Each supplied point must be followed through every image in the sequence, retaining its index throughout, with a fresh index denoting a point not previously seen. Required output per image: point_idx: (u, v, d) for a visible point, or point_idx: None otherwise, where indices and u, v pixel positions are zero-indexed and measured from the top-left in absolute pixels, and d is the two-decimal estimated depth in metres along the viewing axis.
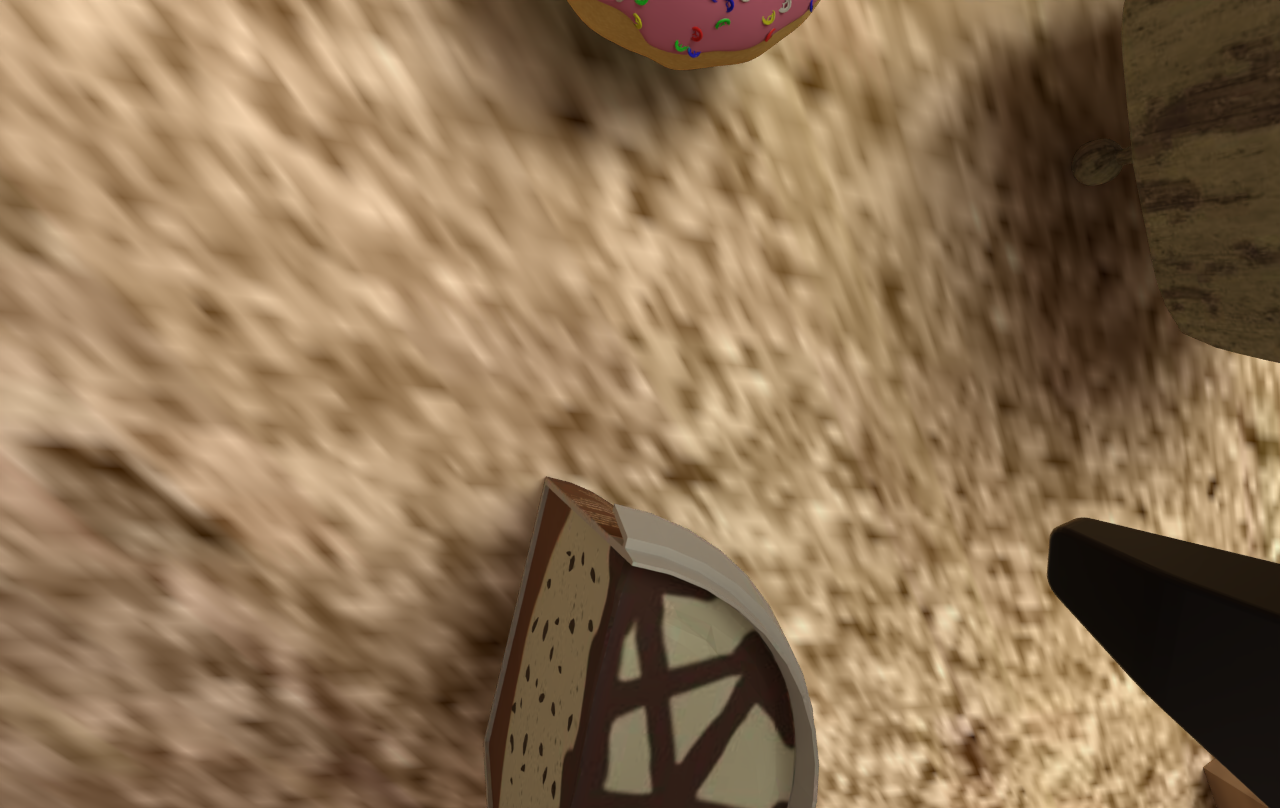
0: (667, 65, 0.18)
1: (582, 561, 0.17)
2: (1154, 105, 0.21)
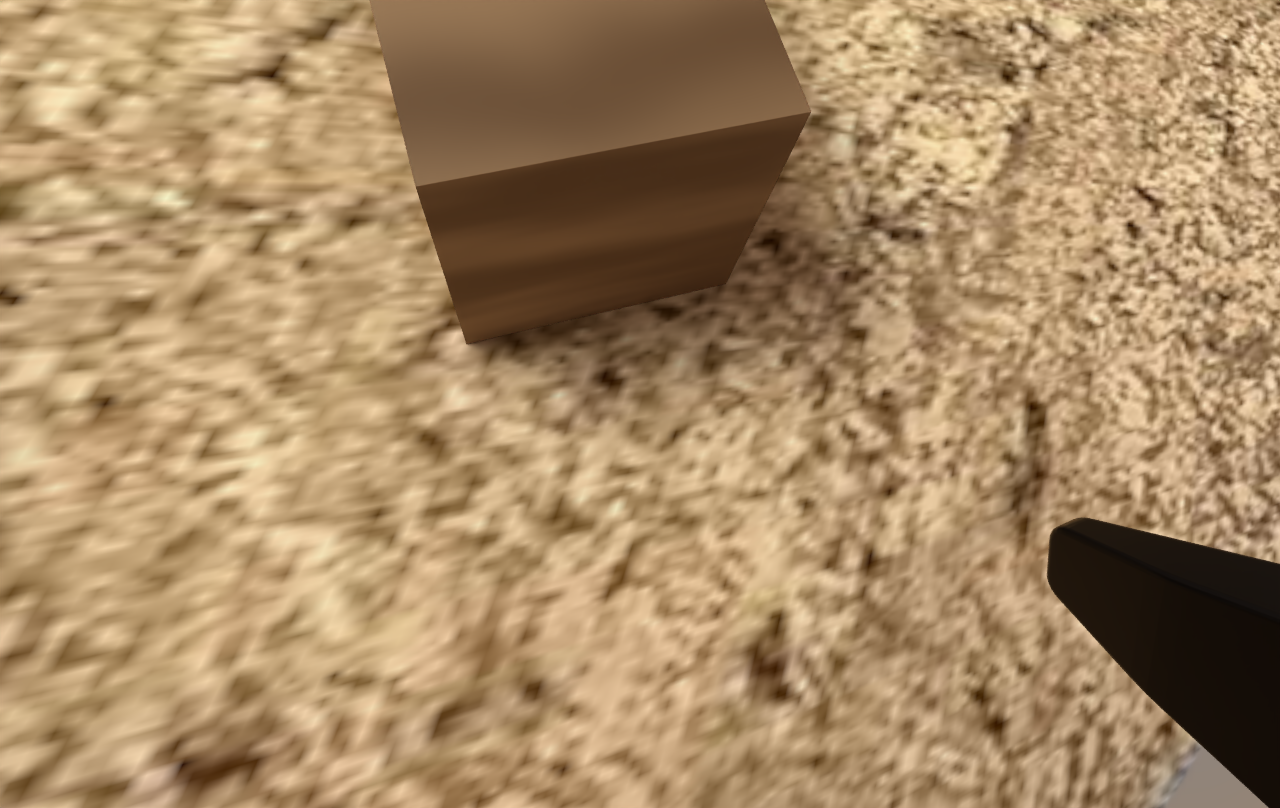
0: None
1: None
2: None
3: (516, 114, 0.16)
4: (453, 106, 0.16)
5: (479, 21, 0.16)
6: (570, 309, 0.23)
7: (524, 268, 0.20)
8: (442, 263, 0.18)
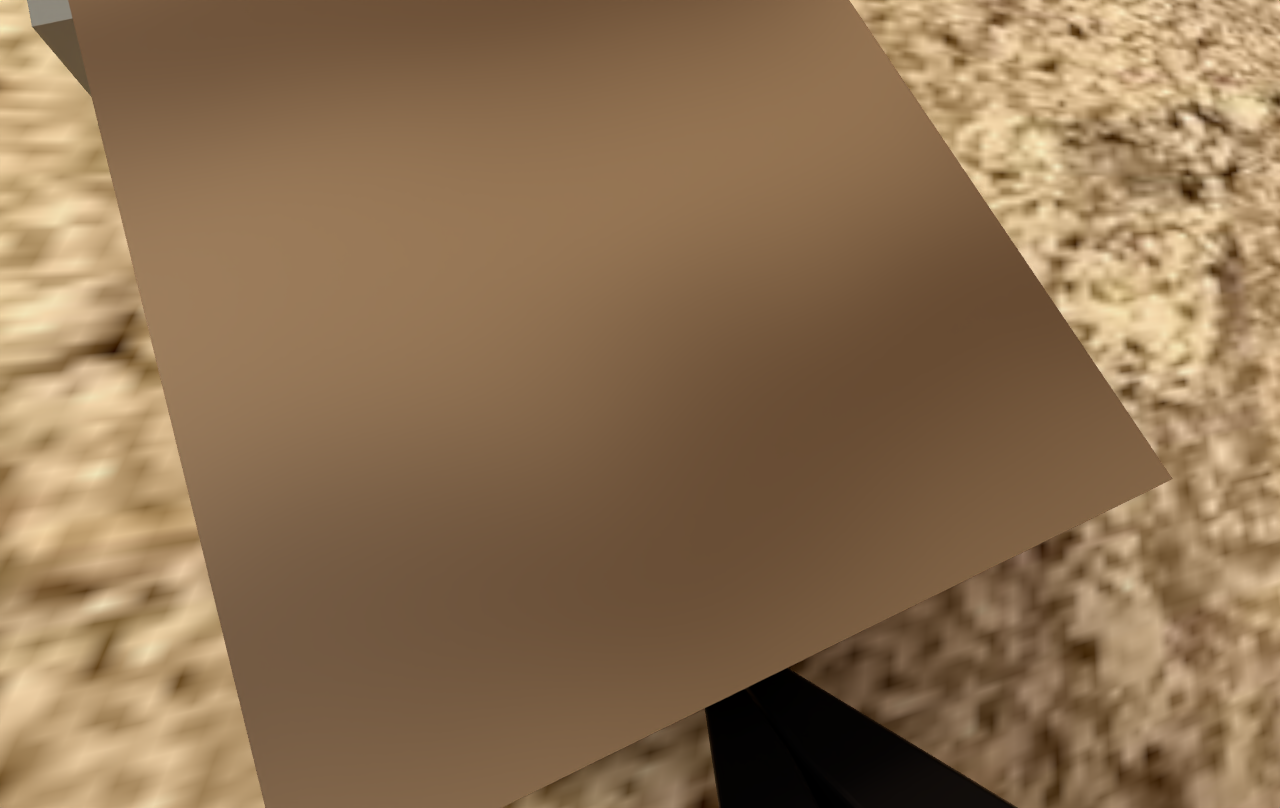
0: None
1: None
2: None
3: (529, 620, 0.06)
4: (374, 628, 0.06)
5: (417, 379, 0.07)
6: None
7: None
8: None
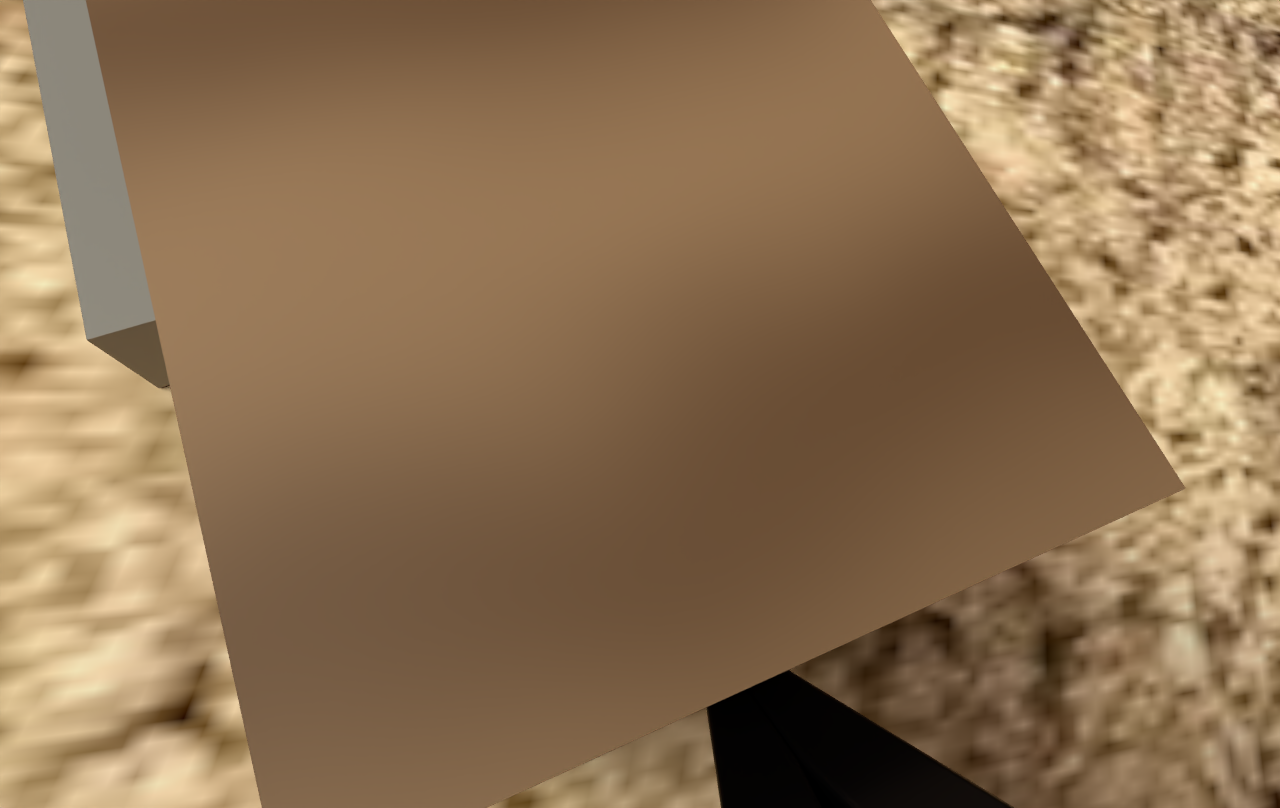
0: None
1: None
2: None
3: (530, 615, 0.06)
4: (372, 618, 0.06)
5: (422, 368, 0.07)
6: None
7: None
8: None
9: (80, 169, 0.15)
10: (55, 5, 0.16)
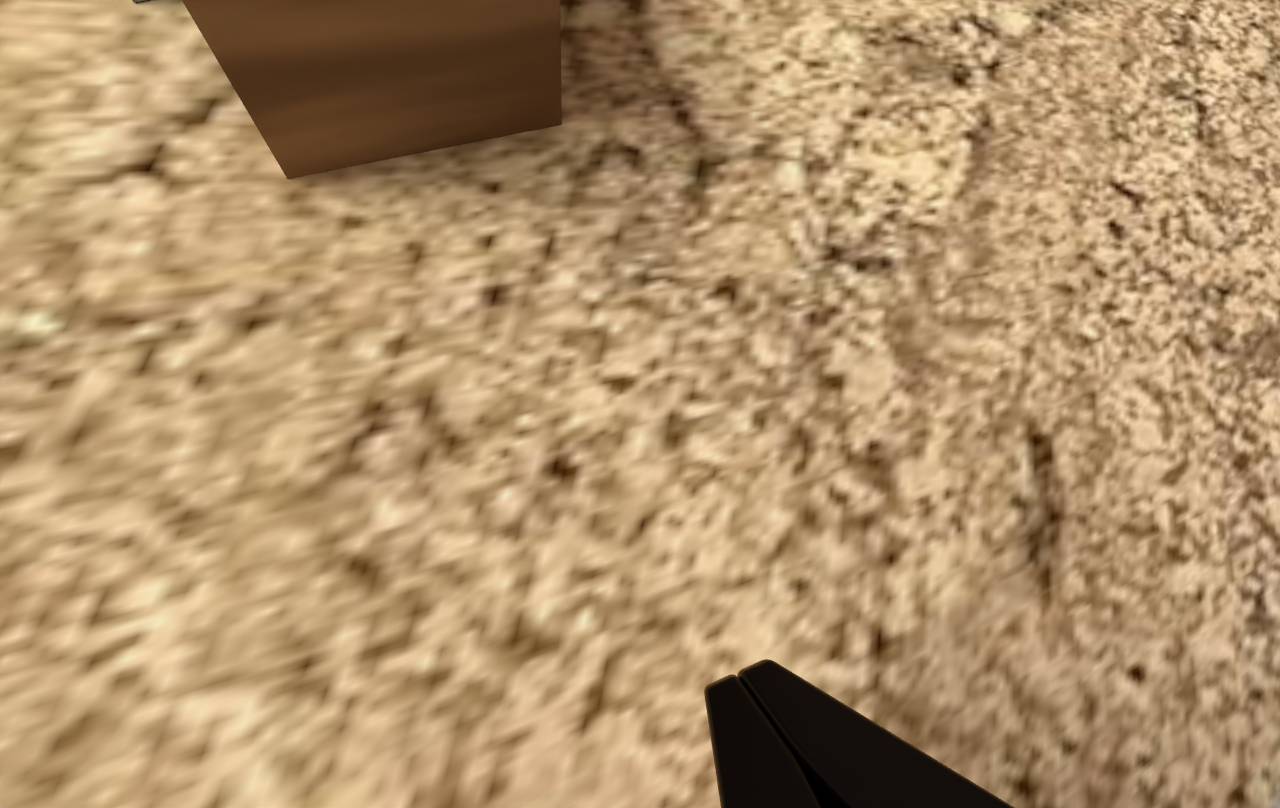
0: None
1: None
2: None
3: None
4: None
5: None
6: (391, 139, 0.23)
7: (310, 65, 0.19)
8: (208, 41, 0.18)
9: None
10: None
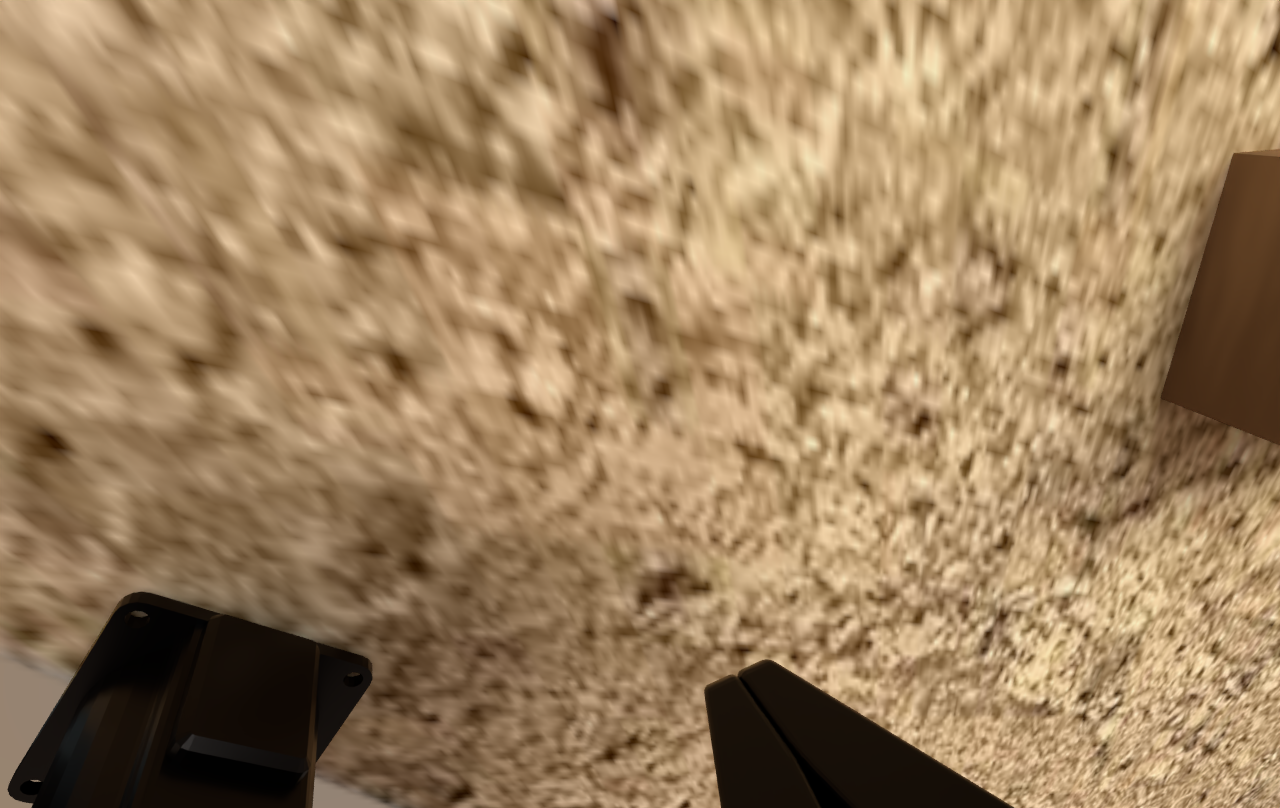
0: None
1: None
2: None
3: None
4: None
5: None
6: (1228, 260, 0.25)
7: None
8: None
9: None
10: None
